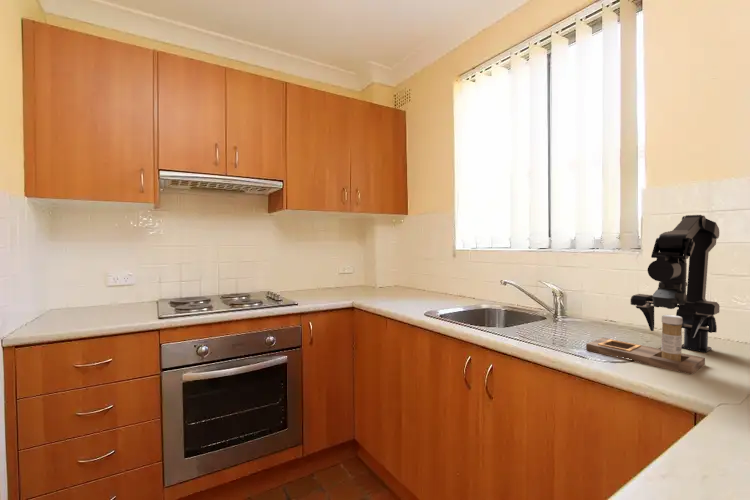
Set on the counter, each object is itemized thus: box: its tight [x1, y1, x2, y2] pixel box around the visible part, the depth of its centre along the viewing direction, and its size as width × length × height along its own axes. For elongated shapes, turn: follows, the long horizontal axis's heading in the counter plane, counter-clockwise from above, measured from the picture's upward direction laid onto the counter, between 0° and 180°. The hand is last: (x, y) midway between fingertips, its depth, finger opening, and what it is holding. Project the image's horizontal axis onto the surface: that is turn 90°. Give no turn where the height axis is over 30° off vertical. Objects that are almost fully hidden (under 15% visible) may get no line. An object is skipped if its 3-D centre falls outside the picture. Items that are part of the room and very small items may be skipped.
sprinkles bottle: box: [660, 314, 683, 362], centre depth 104 cm, size 5×5×14 cm
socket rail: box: [585, 337, 706, 375], centre depth 110 cm, size 12×26×2 cm, turn 36°
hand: (671, 334), depth 104 cm, fingers open, 9 cm apart
